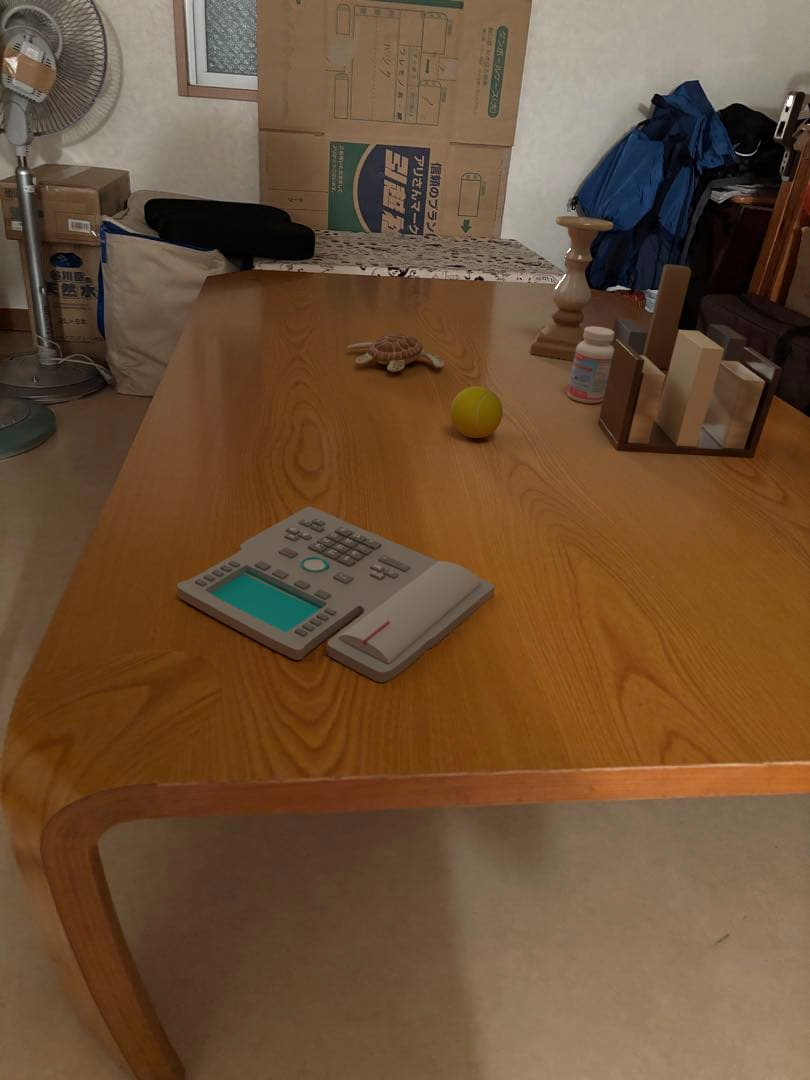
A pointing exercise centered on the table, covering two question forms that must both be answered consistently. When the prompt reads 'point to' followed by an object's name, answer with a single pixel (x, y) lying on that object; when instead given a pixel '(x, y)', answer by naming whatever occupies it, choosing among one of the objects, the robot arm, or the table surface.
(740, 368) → the book rack
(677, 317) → the wooden block
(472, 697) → the table surface
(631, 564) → the table surface
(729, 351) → the grey books
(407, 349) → the decorative turtle
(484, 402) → the tennis ball
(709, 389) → the cream book
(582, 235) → the candle holder
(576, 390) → the pill bottle
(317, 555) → the office telephone
